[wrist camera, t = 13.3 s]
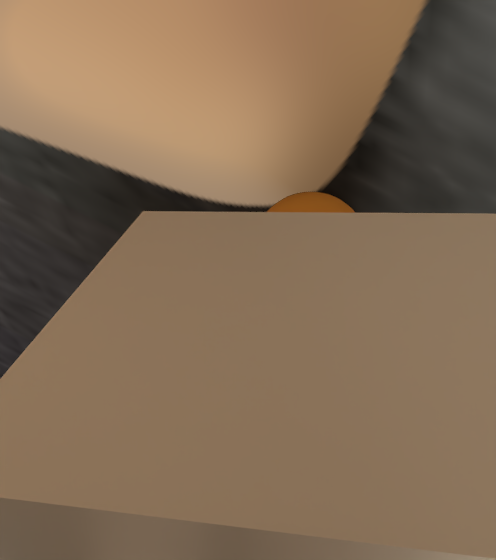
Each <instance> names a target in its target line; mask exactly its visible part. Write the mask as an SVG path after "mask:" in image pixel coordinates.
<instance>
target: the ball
mask: <svg viewBox="0 0 496 560" xmlns="http://www.w3.org/2000/svg"><path fill="white" fill-rule="evenodd" d="M267 212H326V213H355V212H354V210H353V209H352V208H351V207H350V206H348V205H347V204H346V203H345V202H343V201H342V200H340V199H338V198H336V197H334V196H332V195H329V194H325V193H320V192H302V193H297V194H293V195H290V196H288V197H286V198H284V199H282V200H281V201H279V202H277V203H276V204H275V205H273V206H272V207H271V208H270V209H269V210H268V211H267Z"/></svg>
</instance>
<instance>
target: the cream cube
mask: <svg viewBox="0 0 496 560" xmlns="http://www.w3.org/2000/svg"><path fill="white" fill-rule="evenodd" d="M0 560H496V214H465V213H326V212H187V211H143V212H142V213H141V214H140V215H139V216H138V218H137V219H136V220H135V221H134V222H133V224H132V225H131V226H130V227H129V228H128V229H127V231H126V232H125V233H124V234H123V235H122V236H121V238H120V239H119V240H118V241H117V242H116V244H115V245H114V246H113V247H112V248H111V249H110V251H109V252H108V253H107V254H106V255H105V256H104V258H103V259H102V260H101V261H100V262H99V264H98V265H97V266H96V267H95V268H94V269H93V271H92V272H91V273H90V274H89V275H88V276H87V278H86V279H85V280H84V281H83V282H82V284H81V285H80V286H79V287H78V288H77V289H76V291H75V292H74V293H73V294H72V295H71V297H70V298H69V299H68V300H67V301H66V302H65V304H64V305H63V306H62V307H61V308H60V309H59V311H58V312H57V313H56V314H55V315H54V317H53V318H52V319H51V320H50V321H49V322H48V324H47V325H46V326H45V327H44V328H43V329H42V331H41V332H40V333H39V334H38V335H37V337H36V338H35V339H34V340H33V341H32V342H31V344H30V345H29V346H28V347H27V348H26V349H25V351H24V352H23V353H22V354H21V355H20V357H19V358H18V359H17V360H16V361H15V362H14V364H13V365H12V366H11V367H10V368H9V369H8V371H7V372H6V373H5V374H4V375H3V377H2V378H1V379H0Z"/></svg>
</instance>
